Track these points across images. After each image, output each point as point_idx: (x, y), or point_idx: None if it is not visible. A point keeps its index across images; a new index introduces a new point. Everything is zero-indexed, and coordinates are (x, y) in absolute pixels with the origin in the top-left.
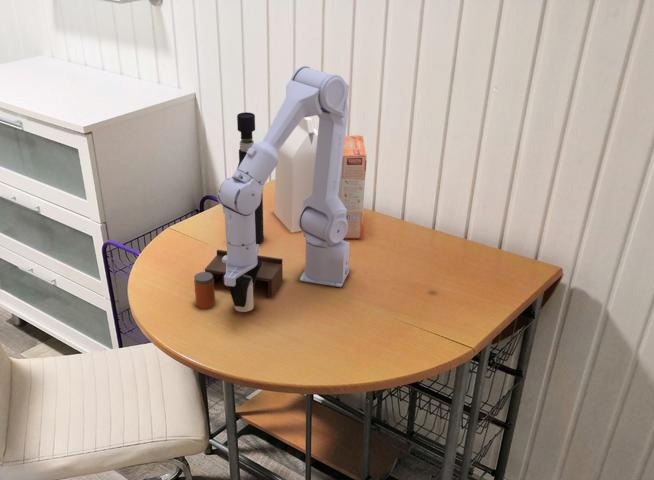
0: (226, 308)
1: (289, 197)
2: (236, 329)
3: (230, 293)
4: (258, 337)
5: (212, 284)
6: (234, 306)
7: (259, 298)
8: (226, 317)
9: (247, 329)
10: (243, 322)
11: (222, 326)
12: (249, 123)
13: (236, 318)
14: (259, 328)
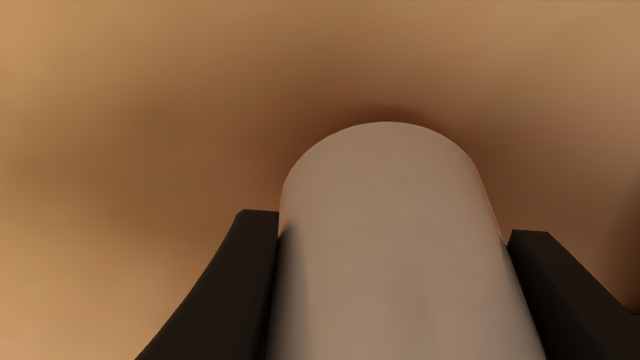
0: (383, 6)
1: None
2: (33, 197)
3: (169, 323)
4: (13, 350)
5: None
6: (338, 140)
7: (603, 255)
8: (196, 58)
9: (77, 271)
10: (167, 223)
11: (14, 65)
12: None
13: (211, 155)
14: (130, 336)
